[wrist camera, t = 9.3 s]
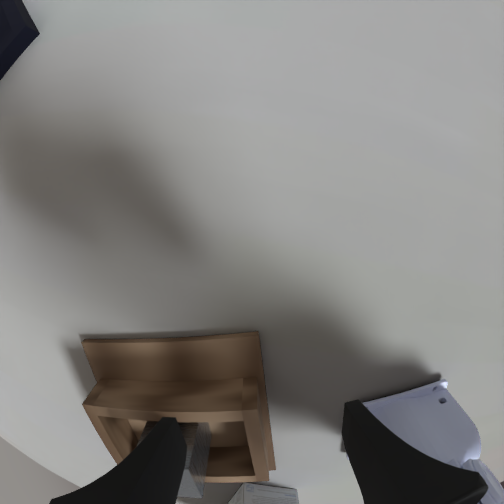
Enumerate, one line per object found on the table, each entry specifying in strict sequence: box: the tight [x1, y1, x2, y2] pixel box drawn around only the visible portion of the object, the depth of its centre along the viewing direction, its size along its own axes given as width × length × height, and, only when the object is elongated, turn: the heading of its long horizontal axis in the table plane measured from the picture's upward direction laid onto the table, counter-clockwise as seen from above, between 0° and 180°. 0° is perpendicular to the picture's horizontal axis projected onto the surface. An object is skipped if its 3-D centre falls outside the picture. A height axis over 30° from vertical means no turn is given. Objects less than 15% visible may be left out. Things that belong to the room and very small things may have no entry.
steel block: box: [137, 421, 212, 498], centre depth 18 cm, size 4×4×7 cm
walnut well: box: [81, 331, 276, 483], centre depth 20 cm, size 14×16×4 cm
